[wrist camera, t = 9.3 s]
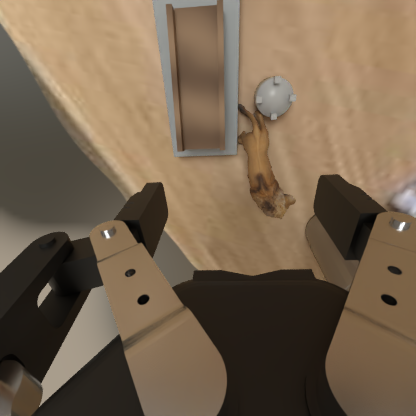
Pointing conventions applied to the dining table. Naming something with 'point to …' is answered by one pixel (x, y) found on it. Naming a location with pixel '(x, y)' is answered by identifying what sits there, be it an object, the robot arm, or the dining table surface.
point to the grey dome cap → (274, 96)
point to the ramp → (197, 75)
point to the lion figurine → (262, 169)
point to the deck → (230, 70)
